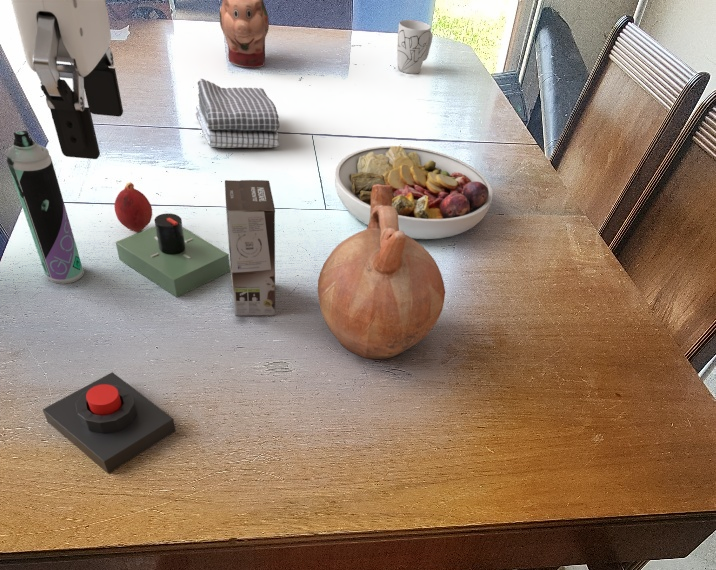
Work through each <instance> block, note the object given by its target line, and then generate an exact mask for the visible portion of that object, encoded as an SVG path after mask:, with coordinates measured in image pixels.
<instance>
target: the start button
mask: <svg viewBox="0 0 716 570" xmlns="http://www.w3.org/2000/svg"><path fill="white" fill-rule="evenodd" d="M86 398H87V401H88V404H89V407H90V410H91V411H92V412H93V413H94V414H96V415H101V416H103V415H109V414H113V413H115V412H116V411H118V410H119V409H120V407H121V400H120V396H119V393H118V390H117V389H116V388H115V387H114V386H111V385H107V384H102V385H97V386H94V387H92V388H91V389H90V390H89V391H88V392H87V394H86Z"/></svg>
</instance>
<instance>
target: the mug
mask: <svg viewBox="0 0 716 570" xmlns="http://www.w3.org/2000/svg"><path fill="white" fill-rule="evenodd" d="M431 29H432V27H431V25H430V24H428V23H427V22H424V21H420V20H415V19H403V20H400V21H399V23H398V31H397V45H396V46H397V47H396V49H397V52H396V53H397V59H396V60H397V62H396V63H397V69H398V71H399V72H401V73H404V74H408V75H415V74H418V73H420V72H421V69H422V67H423V63H424V62H425V61H426V60H427V59H428V56H429V53H430V50H431V45H432V43H433V33H432V31H431Z"/></svg>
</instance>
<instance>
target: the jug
mask: <svg viewBox="0 0 716 570" xmlns="http://www.w3.org/2000/svg"><path fill="white" fill-rule="evenodd" d="M317 296H318V297H317V298H318V301H319V303H318V305H319V309H320V312H321V315H322V318H323V319H324V321H325V323H326V325H327V327H328V329H329V330H330V332H331V333H332V334H333V336H334V337H335V338H336V339H337V341H338V342H339V343H340V344H341V346H342V347H343V348H345V349H346V350H347V351H349V352H351V353H352V354H355V355H357V356H360V357H362V358H365V359H370V360H387V359H390V358H393V357H396V356H398V355H400V354H402V353H404V352H405V351H408V350H409V349H410V348H412V347H413V346H415V345H417V344H418V343H419V342H421V341H422V340H424V339H425V338H426V337H427V336H428V335H429V333H430V332H431V331H432V329H433V328H434V326H435V325H436V323H437V322H438V320H439V318H440V316H441V313H442V311H443V308H444V304H445V298H446V288H445V283H444V279H443V274H442V272H441V270H440V268H439V265H438V264H437V262H436V259H434V257H433V256H432V255H431V253H430V252H429V251H428V250H427V249H426V248H425V247H424V246H423V245H422V244H420V243H419V242H418V241H416V240H415V239H414V238H410V237H409V236H407V235H405V234H404V232H403V231H399V224H398V212H397V210H396V209H395V208H394V207H392V186H391V185H379V184H377V185H374V186H373V187H372V192H371V209H370V221H369V224H368V225H367V227H366V229H364V230H361V231H359V232H356V233H355V234H352V235H351V236H348V237H347V238H346V239H344V240H343V241H341V242H340V243H339V244H338V245H336V247H335V248H334V249H333V250H332V251H331V252H330V254H329V255H328V257H327V258H326V260H325V261H324V262H323V265H322V267H321V270H320V272H319V275H318V279H317Z"/></svg>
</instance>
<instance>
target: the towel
mask: <svg viewBox="0 0 716 570" xmlns="http://www.w3.org/2000/svg"><path fill="white" fill-rule="evenodd" d="M197 86H198V87H197V88H198V89H197V90H198V94H197V95H198V103H199V104H198V105H196V112H195V116H196V119H197V122H198V124H199V126H200V129H201V131H202V132H201V133H203V136H204V138H205V141H206V143H207V145H208V146H209V147H213V148H221V149H224V148H226V149H230V148H232V149H235V148H236V149H239V148H240V149H241V148H245V149H246V148H248V149H251V148H253V149H255V148H256V149H262V148H263V149H267V148H268V149H269V148H279V146H280V144H279V143H280V142H279V138H280V135H279V133H278V132H279V130H280V121H279V114H278V111H277V108H276V105H275V103H274V102H273V101H272V100H271V99H270V97H269V96H268V95H267V93H266V91H265V90H264V88H262V87H227V88H225V87H220V86H219V85H216V84H215V82H211V81H210V80H206V79H204V78H199V80H198V81H197Z"/></svg>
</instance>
